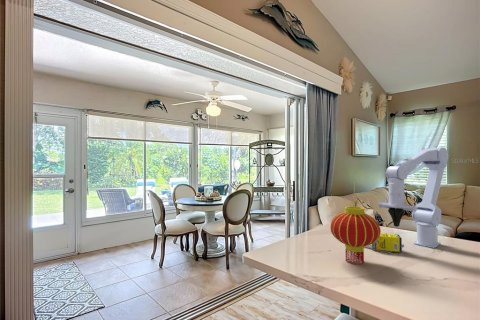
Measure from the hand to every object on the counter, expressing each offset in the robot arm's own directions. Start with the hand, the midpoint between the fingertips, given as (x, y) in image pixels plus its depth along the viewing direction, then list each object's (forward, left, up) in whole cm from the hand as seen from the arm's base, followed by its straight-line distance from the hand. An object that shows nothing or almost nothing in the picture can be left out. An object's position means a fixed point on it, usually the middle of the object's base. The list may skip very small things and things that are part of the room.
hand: (396, 226), depth 113 cm
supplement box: (+2, +2, -6) cm, 7 cm away
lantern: (+27, -5, -10) cm, 29 cm away
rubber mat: (0, -8, -10) cm, 12 cm away
